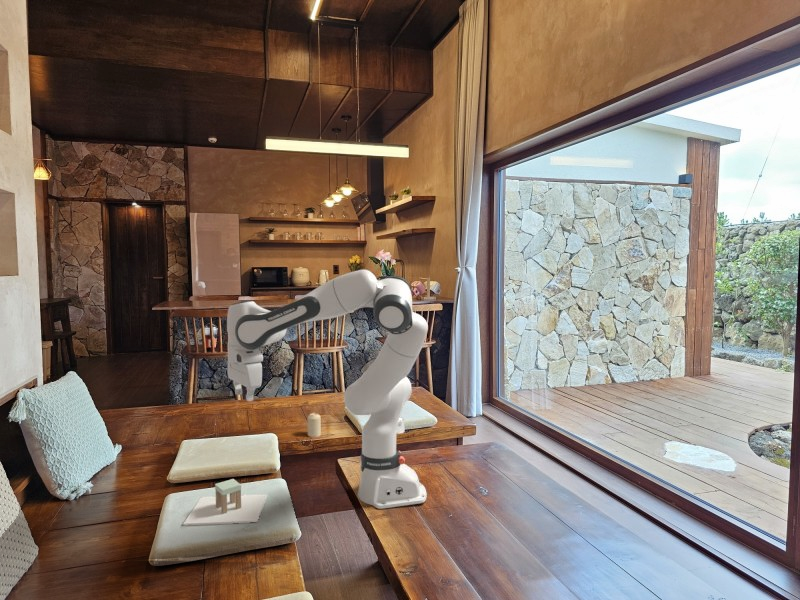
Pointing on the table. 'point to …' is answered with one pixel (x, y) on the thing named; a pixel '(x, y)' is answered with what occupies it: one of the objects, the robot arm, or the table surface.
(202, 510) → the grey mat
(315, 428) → the candle
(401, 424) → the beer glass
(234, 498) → the wooden stool
